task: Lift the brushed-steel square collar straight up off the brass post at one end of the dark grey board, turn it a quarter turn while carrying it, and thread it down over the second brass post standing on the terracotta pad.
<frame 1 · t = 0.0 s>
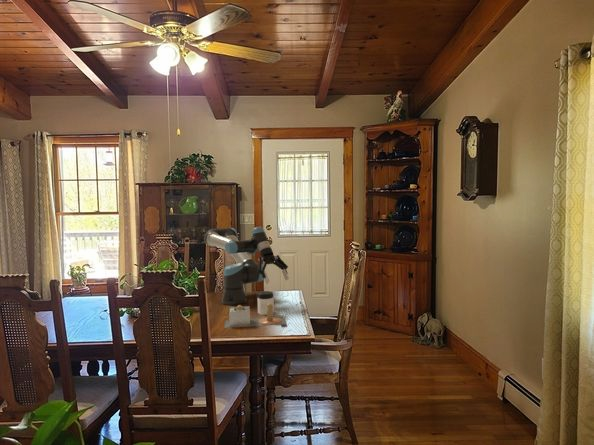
hand: (277, 281, 246), 15 cm above the table, tool tilted 35°, fingers open, 13 cm apart
post board: (255, 324, 213), on the table
jar: (265, 314, 231), on the table
collar: (240, 322, 212), point 1 cm above the table, touching post board
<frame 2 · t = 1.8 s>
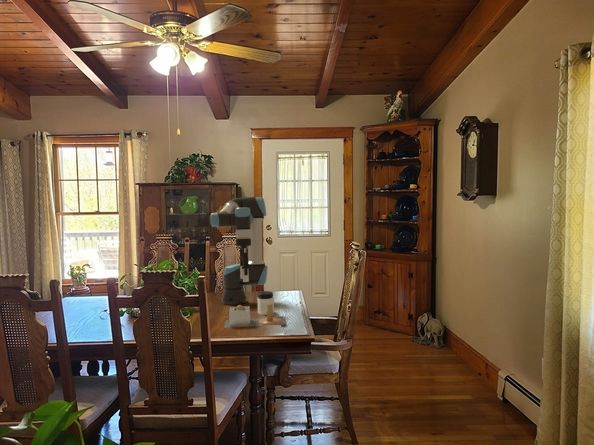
hand: (244, 280, 213), 22 cm above the table, tool pointing down, fingers open, 13 cm apart
nothing on the table moved.
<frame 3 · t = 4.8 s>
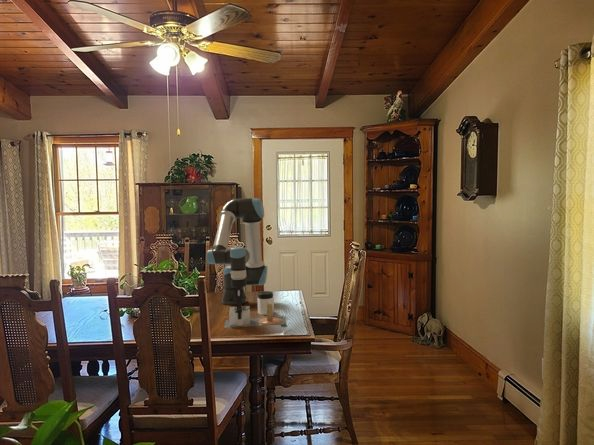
hand: (240, 322, 212), 1 cm above the table, tool pointing down, fingers closed on collar, post board, 10 cm apart
collar: (240, 322, 212), point 1 cm above the table, touching gripper
everything else where it was.
when the fingers open (2 cm above the table, at t = 12.7 s): collar drops 1 cm, resting on post board.
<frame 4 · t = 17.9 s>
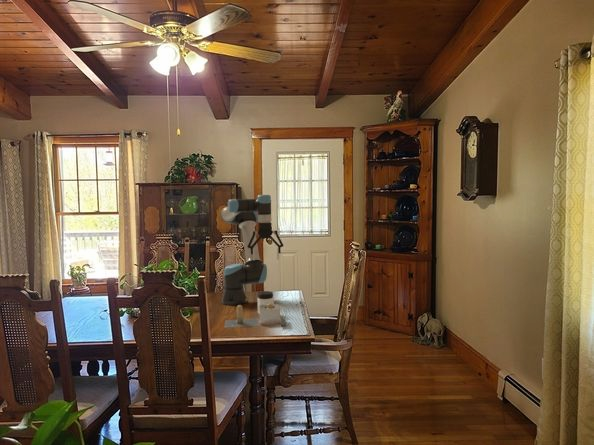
hand: (265, 259, 240), 29 cm above the table, tool pointing down, fingers open, 13 cm apart
collar: (270, 320, 214), point 1 cm above the table, touching post board
everything else where it was.
at the end: collar 0.0 cm from the target spot, point 1.2 cm above the table; collar tilted 0°; the gripper is holding nothing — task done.
